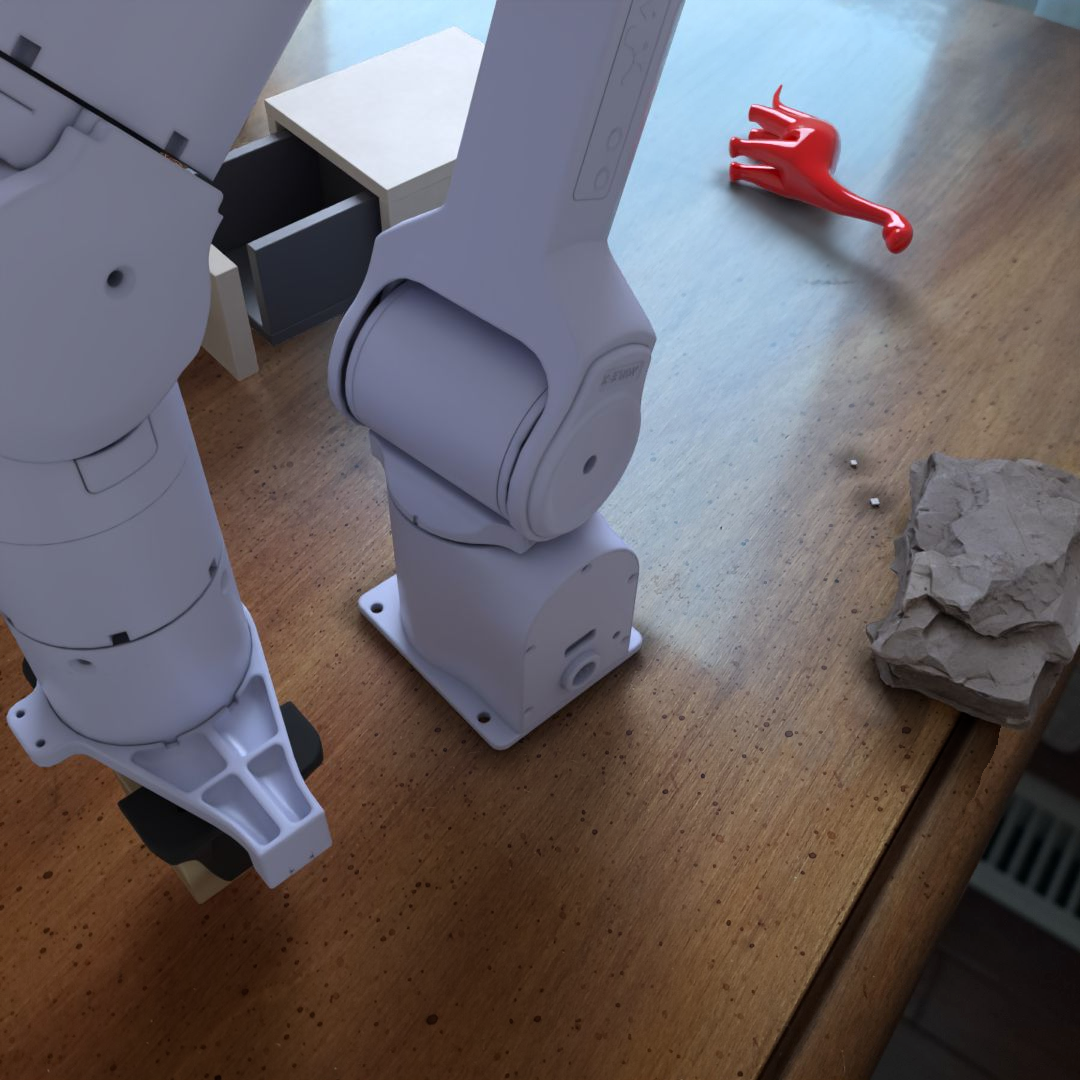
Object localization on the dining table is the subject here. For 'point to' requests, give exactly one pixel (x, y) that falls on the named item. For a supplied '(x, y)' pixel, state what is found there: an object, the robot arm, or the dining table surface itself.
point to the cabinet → (390, 119)
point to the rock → (984, 587)
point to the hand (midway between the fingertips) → (211, 809)
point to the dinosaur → (807, 167)
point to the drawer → (283, 246)
